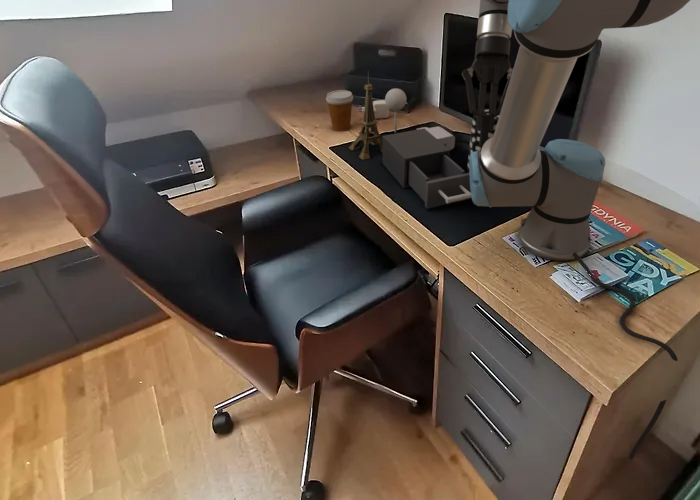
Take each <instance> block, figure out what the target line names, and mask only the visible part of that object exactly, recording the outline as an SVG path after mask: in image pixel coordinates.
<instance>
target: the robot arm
mask: <svg viewBox="0 0 700 500" xmlns="http://www.w3.org/2000/svg"><path fill="white" fill-rule="evenodd" d="M690 2H691V0H479V11H478V12H479V13H478V22H477V30H476V31H477V32H476V39H477V40H476V42H475V51H474V59H473V62H472V64H471V66H470V67H469V68H466V69H463V70H462V72H461V77H462V80H463V81H464V84H465V90H466V97H467V103H468V111H469V114H471V115H473V114H474V115H476V116H477V123H476V130H477V131H480V141H479V146H483V147H482V149H481V151H476V152H472V153H471V154H470V158H469V174H470V189H471V191H470V192H471V197H472V198H471V201H472V203H473V205H475V206H476V207H488V208H500V207H501V208H505V207H507V208H508V207H532V208H531V209H530V211H529V212H528V214H527V215H526V217H525V218H522V219H521V220H520V226H519V229H518V234H517V239H518V242H519V244H520V245H521V246H522V247H523V249H525V250H526V251H528V252H529V253H531V254H533V255H534V256H537V257H539V258H542V259H545V260H550V261H556V262H557V261H558V262H571V261H576V262H578V263H579V264H580V266H581V267H582V268H583V269H584V271H585V272H586V271H587V272H586V274H587V276H588V277H589V278H590V279H591V281H593V282H594V283H595V284H597V285H598V286H600V288H601V287H602V288H604V289H606V290H609V291H611V292H614V293H618V294H620V295H623V296H624V297H626V298H627V300H628V301H629V307H628V308H627V309H626V310H624V312H623V313H622V314H621V315H620V317H619V326H620V327H621V329H622V330H623V331H624V332H625V333H627V334H628V335H630V336H631V337H634V338H636V339H638V340H642V341H645V342H648V343H651V344H654V345H656V346H659V347H660V348H662V349H663V350H665V351H666V352H667V354H669V356H670V358H671V360H673V361H675V362H678V361H679V359H678V357H677V355H676V353H675V352H674V350H673V349H672V348H671V347H670V346H669V345H668V344H666V343H664V342H663V341H661V340H658V339H657V338H653V337H650V336H647V335H644V334H640V333H638V332H635V331H634V330H632V329H630V328H629V327H628V326H627V325H626V323H625V321H626V318H627V317H628V315H630V314H631V313H632V312H633V310H634V308H636V301H635V299H634V297H633V296H632V295H631V294H630V292H627V291H625V290H623V289H621V288H618V287H615V286H613V285H610V284H607V283H604V282H602V281H601V280H599V279H598V278H597V277H596V276H595V275H594V273H593V272H592V271H591V269H590V268H589V267H588V265H587V264H586V263H585V262H584V261H583V259H582V258H583V257H584V256H585V255H587V254H588V252H589V249H590V247H591V244H592V243H591V242H592V238H591V227H590V226H591V225H590V216H591V212H592V211H593V207H594V203H595V201H596V198H597V194H598V192H599V189H600V185H601V181H603V179H604V172H605V167H606V158H605V156H604V155H603V153H602V152H601V151H599V150H598V149H597V148H596V147H594V146H592V145H589V144H587V143H585V142H581V141H579V140H578V141H577V140H575V139H567V138H566V139H565V138H557V139H553V140H550V141H548V142H547V143H546V145H545V147H544V149H543V150H540V149H539V148H540V146H541V143H542V141H543V138H544V136H545V134H546V132H547V129H548V127H549V125H550V123H551V121H552V118H553V116H554V113H555V112H556V109H557V107H558V105H559V102H560V99H561V98H562V95H563V93H564V91H565V88H566V86H567V83H568V81H569V79H570V77H571V74H572V72H573V69H574V67H575V65H576V63H577V60H578V58H580V57H582V56H583V57H584V56H585V55H587V54H588V53H590V52H591V51H592V50H593V49H594V48H595V46H596V44H597V42H598V40H599V37H600V35H601V34H602V31H603V30H605V29H606V30H607V29H626V28H639V27H644V26H649V25H652V24H655V23H659V22H661V21H664V20H665V19H667V18H669V17H670V16H673V15H674V14H676V13H677V12H679V11H680V10H682V9H683V8H684V7H685V6H686V5H687V4H688V3H690ZM512 32H514V37H515V40H516V41H517V43H518V45H519V47H518V52H517V54H516V59H515V61H514V66H513V67H511V62H510V59H509V58H510V51H511V40H510V39H511V37H512ZM506 74H507V76H506V79H507V82H506V84H505V87H504V89H503V91H502V95H501V98H500V101H499V104H498V106H497V103H498V91H499V85H500V81H501V80H502V78H504V76H505V75H506ZM474 75H475V77H476V78H477V80H478V81H479V91H478V101H477V105H476V97H475V91H474V84H473V76H474ZM488 83H490V92H489V104H488V108H489V114H488V116H483V114H484V108H485V106H486V95H487V86H488ZM476 106H477V107H476ZM496 109H497V110H496ZM498 115H500V116H499V119H498V122H497V126H496V129H495V133H494V136H493V137H491V138H490V139H488V133H489V131H493V129H494V120H495V116H498ZM589 274H590V275H591V276H590V275H589ZM593 275H594V276H595V278H596V279H595V278H593V277H594V276H593ZM592 276H593V277H592ZM667 400H668V399H664V400H661V401H659V403H658V405H657V408H656V410H655V411H654V413H653V416H652V418H651V419H650V421H649V423H647V426H646V427H645V429H644V431H643V432H642V433H641V435H640V437H639V438H638V440H637V441H636V443H635V445H634V447H633V448H632V450H631V451H630V454H629V455H628V458H629V460H633V459H634V458H635V456H636V455H637V452H638V451H639V449H640V447H641V446H642V444H644V441H645V440H646V439H647V437H648V435H649V434H650V432H651V431H652V430H653V428H654V427H655V425H656V423H657V422H658V419H659V418H660V416H661V414H662V412H663V409H664V408H665V405H666V403H667Z"/></svg>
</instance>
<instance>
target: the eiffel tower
mask: <svg viewBox="0 0 700 500" xmlns="http://www.w3.org/2000/svg"><path fill="white" fill-rule="evenodd" d="M363 89H364V90H365V100H364V107H365V109H363V110H364V112H363V118H362V119H361V120H360V122H361V129H360V132H358V134H359V135H357V137H356V138H355V140H353V142H352V143H351V145H350V146H349V145H348V149H349V150H350V151H351V152H352V151H357V150H360V149H361V147H360V146H361V144H362V142H363V144H364V145H363V147H362V150H361V151H360V154H359V155H358V158H359V159H360V160H362V161H364V160H368V159H371V156H370V153H369V145H370V144H371V145H372V146H377V145H378V146H379V148H380V152H381V153H382V154H383V138H382V137H381V134H380V132H379V128H378V125H377V124H379V122H378V120H377V119H375V115H374V108H373V101H374V100H373V93H372V90H374V87H373V84H371V83H370V76H369V71H367V84H364V87H363Z"/></svg>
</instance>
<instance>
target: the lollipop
mask: <svg viewBox="0 0 700 500" xmlns="http://www.w3.org/2000/svg"><path fill="white" fill-rule="evenodd" d="M384 100H385V103H386V106H387V107H388V108H389V111H390V110H391V111H392V112H394V123H393V124H394V134H396V133H397V116H398V115H397V113H398V111H401V110H402V109H403V108H404V107H405V106H406V104H407V95H406V93H405V91H403V90H402V89H401V88H395V87H394V88H391V89H390V90H389V91H387V93H386V94H385V98H384Z"/></svg>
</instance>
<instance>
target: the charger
mask: <svg viewBox="0 0 700 500" xmlns="http://www.w3.org/2000/svg"><path fill="white" fill-rule="evenodd" d="M418 129H426V130H427V131H428V132H429V133H430V134H432V135H433V136H434V137H435V138H436V139H438V140H439V141H440V142H441V143H442V144H444V145H445V146H446V147H447V148H448V149H450V151H451V150H453V149H454V148H455V144H456V137H455V135H453V134H452V133H450V132H448V131H447V129H446V130H445V128H443V127H442V126H432V127H427V126H424V127H419V128H418V127H417V128H416V130H418Z"/></svg>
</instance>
